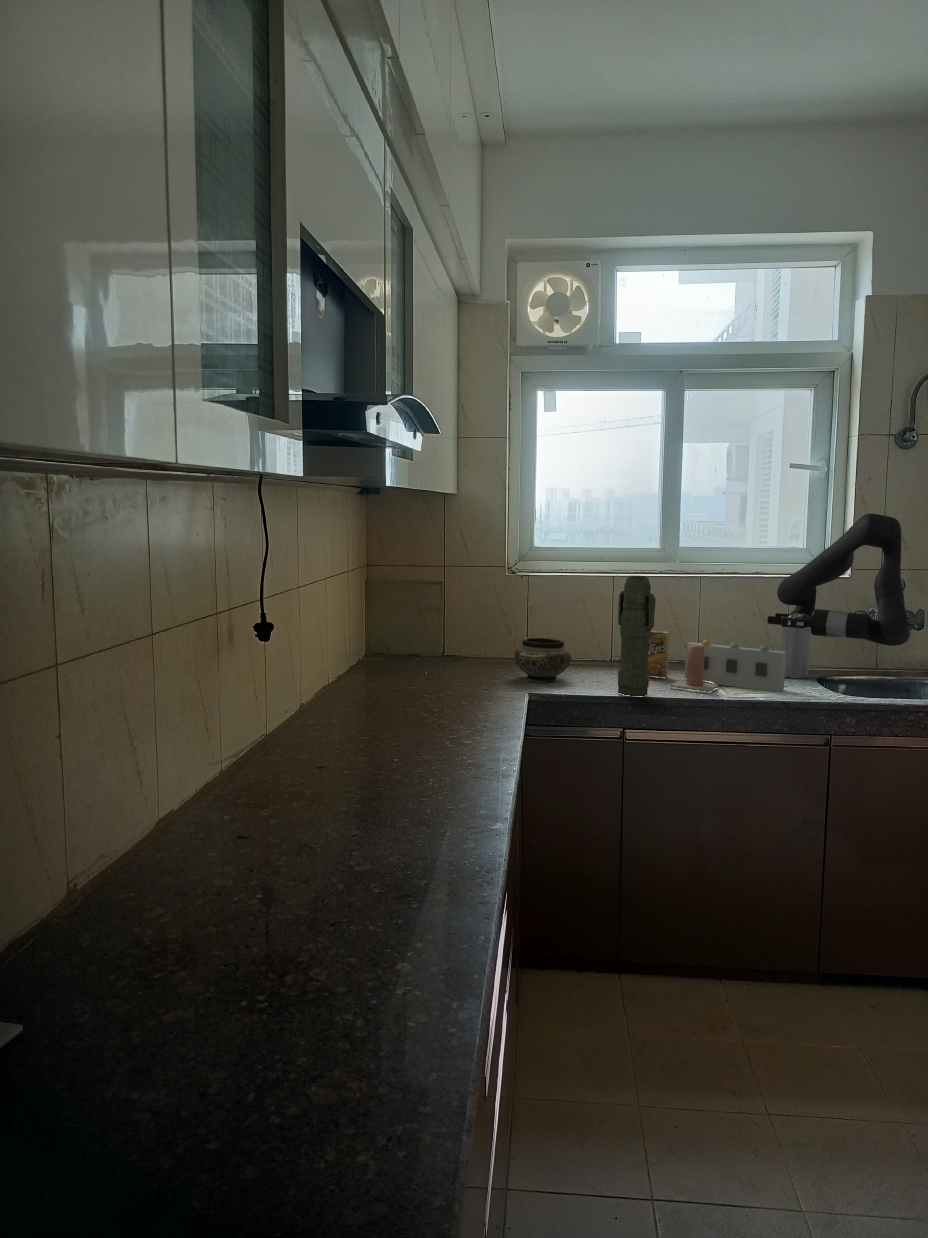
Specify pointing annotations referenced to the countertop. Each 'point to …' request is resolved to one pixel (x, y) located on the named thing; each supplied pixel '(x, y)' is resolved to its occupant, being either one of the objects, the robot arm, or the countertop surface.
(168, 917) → the countertop surface
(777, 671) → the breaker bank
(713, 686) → the pad
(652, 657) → the candy box
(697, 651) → the pink cylinder
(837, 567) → the robot arm
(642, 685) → the thermos
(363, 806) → the countertop surface
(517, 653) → the ceramic bowl
